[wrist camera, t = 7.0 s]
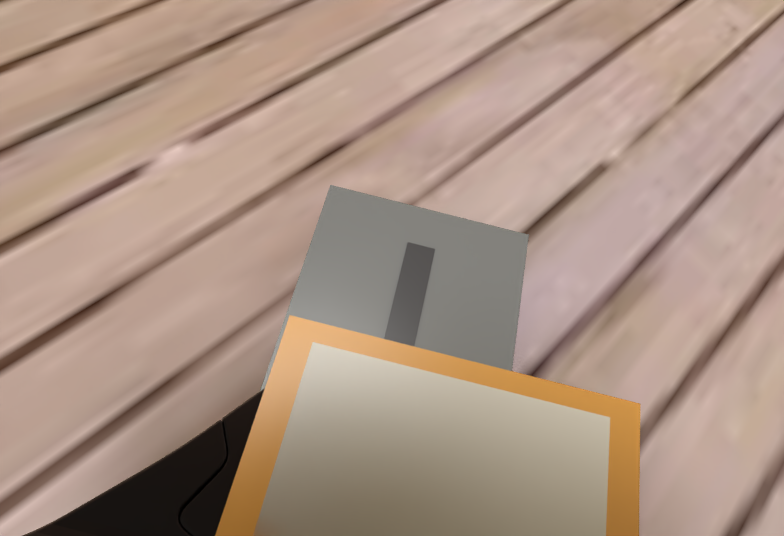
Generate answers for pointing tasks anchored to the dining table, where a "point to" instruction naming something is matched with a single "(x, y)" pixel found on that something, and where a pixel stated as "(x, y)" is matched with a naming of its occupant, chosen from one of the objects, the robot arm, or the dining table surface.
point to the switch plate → (412, 278)
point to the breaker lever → (428, 447)
